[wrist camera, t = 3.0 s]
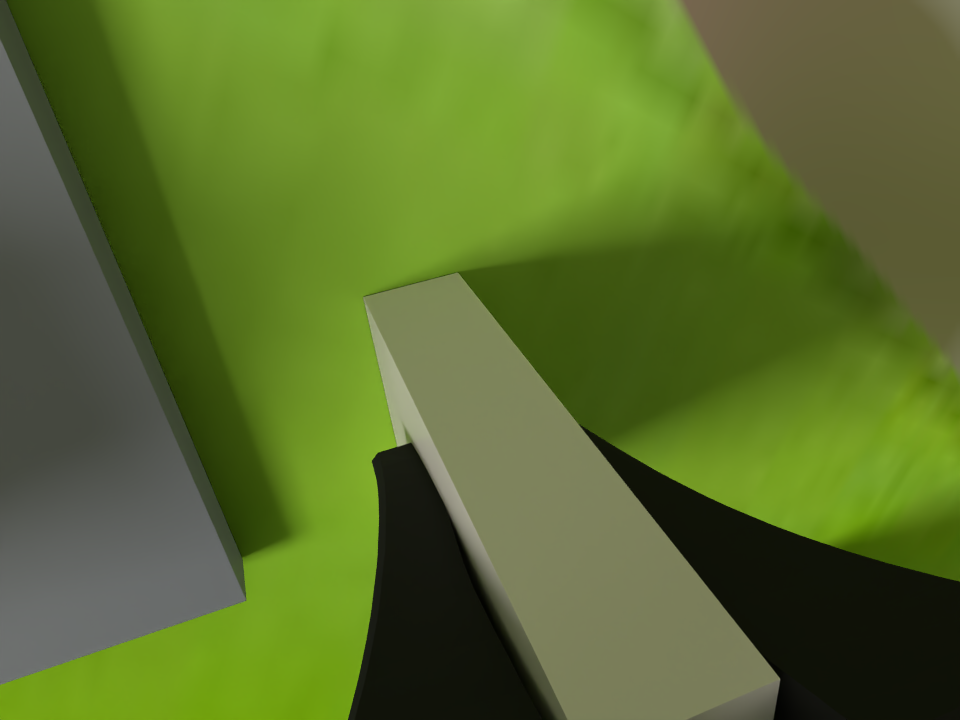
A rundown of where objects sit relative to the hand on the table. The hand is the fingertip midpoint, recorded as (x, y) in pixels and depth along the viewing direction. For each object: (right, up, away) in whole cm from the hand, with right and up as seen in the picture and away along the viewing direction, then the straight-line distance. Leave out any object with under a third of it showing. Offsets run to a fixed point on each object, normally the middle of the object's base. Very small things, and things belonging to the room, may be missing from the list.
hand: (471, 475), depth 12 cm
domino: (-1, +1, +2) cm, 2 cm away
